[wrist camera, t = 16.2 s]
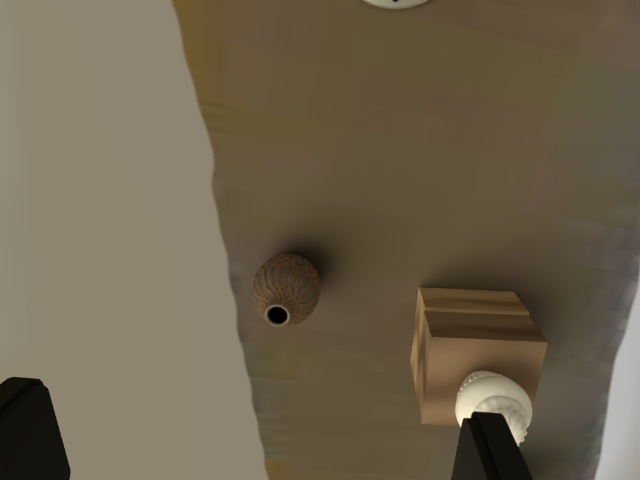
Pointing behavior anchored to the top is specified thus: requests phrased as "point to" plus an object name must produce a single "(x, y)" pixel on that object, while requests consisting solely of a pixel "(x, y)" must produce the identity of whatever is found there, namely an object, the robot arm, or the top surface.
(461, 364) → the tower top
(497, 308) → the tower base
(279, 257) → the vase
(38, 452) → the robot arm
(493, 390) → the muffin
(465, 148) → the top surface
